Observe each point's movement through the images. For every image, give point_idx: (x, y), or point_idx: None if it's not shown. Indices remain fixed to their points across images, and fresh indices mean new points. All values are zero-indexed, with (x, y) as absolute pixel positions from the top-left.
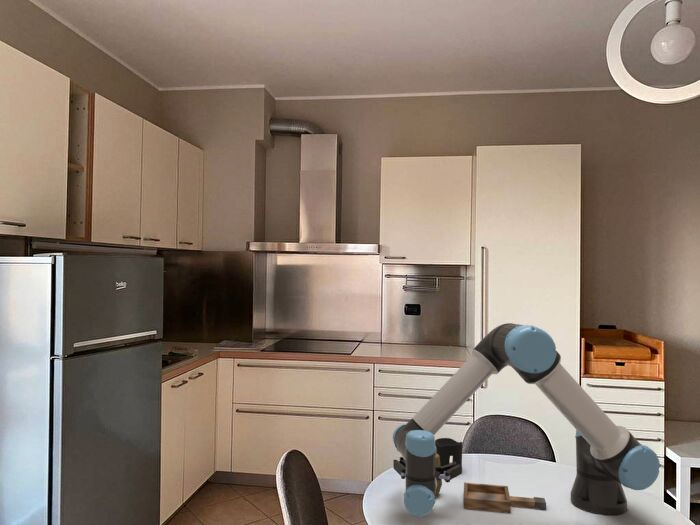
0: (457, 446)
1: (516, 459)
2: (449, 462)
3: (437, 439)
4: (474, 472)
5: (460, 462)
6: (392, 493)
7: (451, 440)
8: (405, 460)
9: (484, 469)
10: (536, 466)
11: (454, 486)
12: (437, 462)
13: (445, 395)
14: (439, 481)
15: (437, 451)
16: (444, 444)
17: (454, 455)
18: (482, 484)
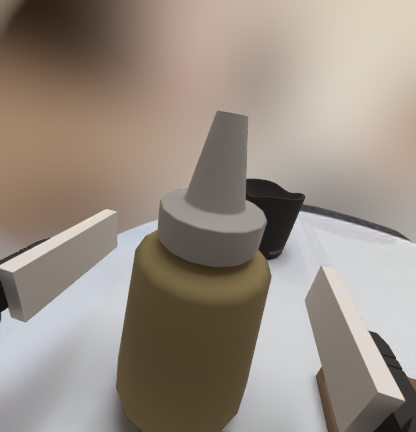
0: (295, 203)
1: (359, 231)
2: (380, 394)
3: (247, 179)
4: (307, 256)
5: (288, 236)
6: (23, 363)
7: (275, 186)
8: (11, 278)
9: (322, 249)
10: (405, 253)
11: (275, 320)
12: (252, 323)
13: None
14: (236, 403)
15: None
16: (258, 192)
17: (282, 222)
18: (411, 383)
